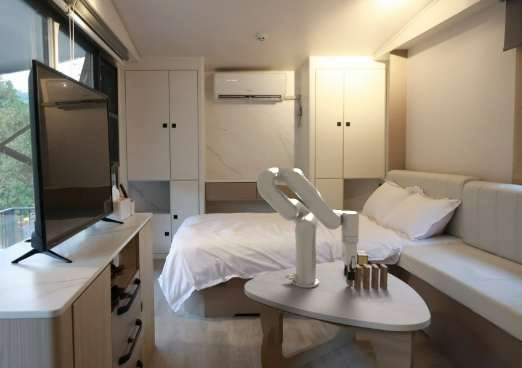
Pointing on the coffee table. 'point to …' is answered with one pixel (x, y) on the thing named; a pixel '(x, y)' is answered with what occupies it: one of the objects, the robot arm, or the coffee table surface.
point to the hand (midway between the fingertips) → (349, 277)
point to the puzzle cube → (362, 259)
